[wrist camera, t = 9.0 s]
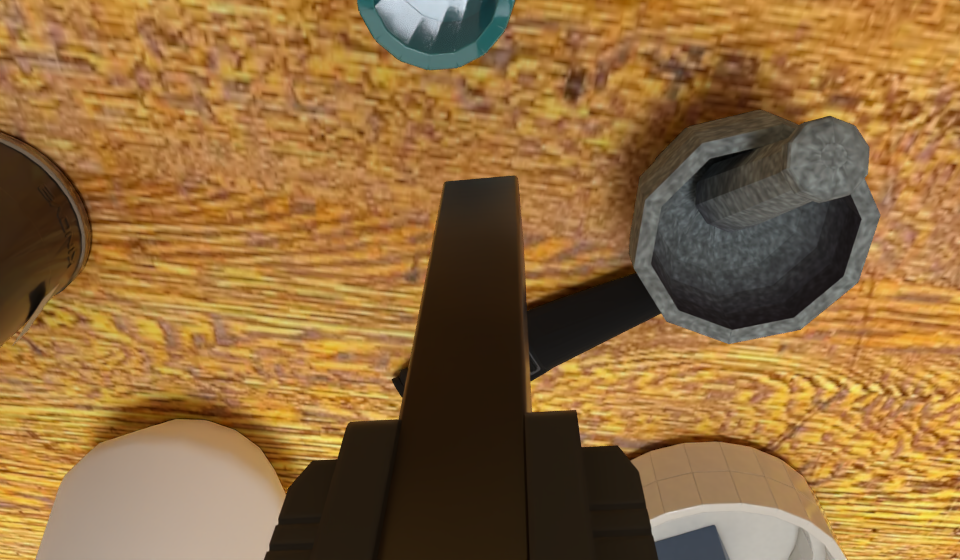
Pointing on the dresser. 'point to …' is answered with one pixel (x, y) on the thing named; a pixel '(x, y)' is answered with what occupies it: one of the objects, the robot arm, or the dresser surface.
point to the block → (693, 546)
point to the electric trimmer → (579, 323)
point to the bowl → (736, 501)
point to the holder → (436, 29)
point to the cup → (167, 498)
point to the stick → (466, 389)
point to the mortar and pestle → (753, 224)
